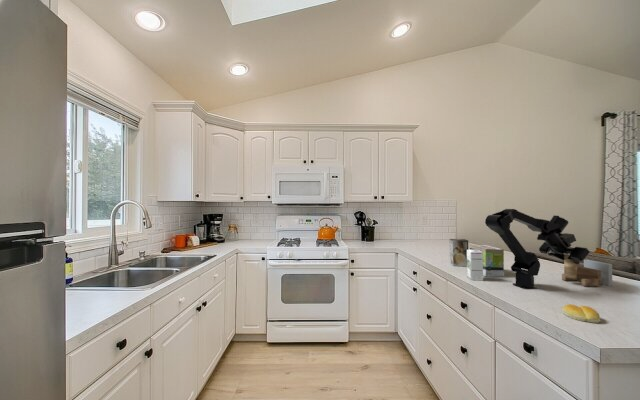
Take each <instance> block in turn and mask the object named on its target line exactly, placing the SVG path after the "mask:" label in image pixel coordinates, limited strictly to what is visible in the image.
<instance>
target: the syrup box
mask: <svg viewBox="0 0 640 400" xmlns="http://www.w3.org/2000/svg"><path fill="white" fill-rule="evenodd" d="M466 277H467V278H468V279H469V280H471V281H478V282H479V281H480V282H481V281H482V282H483V281H484V275H483V253H482V252H481V251H479V250H470V249H469V250H467V266H466Z"/></svg>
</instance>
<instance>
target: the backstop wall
mask: <svg viewBox="0 0 640 400" xmlns="http://www.w3.org/2000/svg"><path fill="white" fill-rule="evenodd" d="M583 267H587V268H591V269H596V270H601V285H603V286H604V285H605V286H608V287H610V286H611V287H613V264H612V263H606V262H603V261H596V260H592V259H584V260H583Z"/></svg>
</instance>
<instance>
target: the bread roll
mask: <svg viewBox="0 0 640 400" xmlns="http://www.w3.org/2000/svg"><path fill="white" fill-rule="evenodd" d="M561 312H562V314H563V315H564V314H565V315H564V316H566V317H568V318H570V317H571V318H570V319H573V318H574V320H576V319H577V321H579V320H580V322H587V323H590V322H591V324H598V323H600V322H601V321H602V320H601V319H600V318H601V317H600V313H599V312H598V311H596V310H595V309H594V308H593V307H589V306H586V305H581V306H578V305H575V304H565V305H564V306H563V307H562V310H561Z"/></svg>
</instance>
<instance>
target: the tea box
mask: <svg viewBox="0 0 640 400" xmlns="http://www.w3.org/2000/svg"><path fill="white" fill-rule="evenodd" d="M469 250H479V251H481V252H482V253H483V277H493V278H495V277H498V278H500V277H501V278H502V277H505V276H504V273H505V268H504V267H505V265H504V264H505V263H504V262H505V261H504V260H505V258H504V257H505V256H504V255H505V253H504V248H499V247H495V246H493V245H487V244H469Z"/></svg>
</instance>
